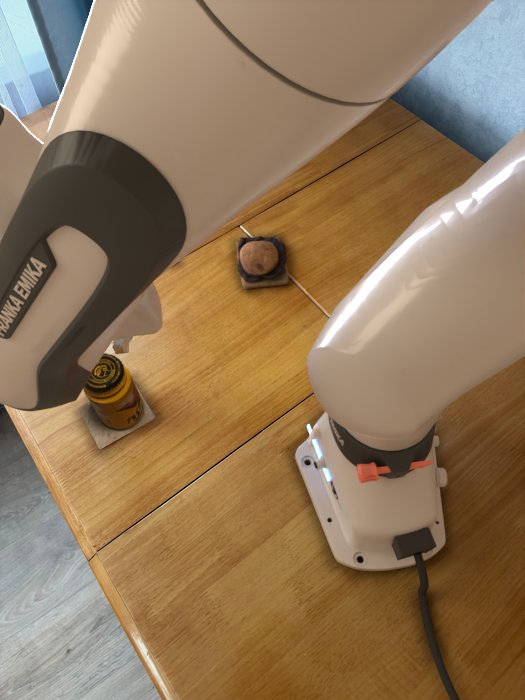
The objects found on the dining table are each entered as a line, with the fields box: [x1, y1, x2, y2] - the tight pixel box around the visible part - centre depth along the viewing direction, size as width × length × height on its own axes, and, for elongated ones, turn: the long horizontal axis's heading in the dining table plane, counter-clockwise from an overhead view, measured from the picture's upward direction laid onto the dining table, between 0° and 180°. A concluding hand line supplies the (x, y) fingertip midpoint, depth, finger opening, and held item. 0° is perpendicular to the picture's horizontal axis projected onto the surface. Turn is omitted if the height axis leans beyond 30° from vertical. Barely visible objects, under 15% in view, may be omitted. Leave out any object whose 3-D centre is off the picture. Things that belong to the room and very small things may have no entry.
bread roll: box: [235, 234, 290, 290], centre depth 86 cm, size 11×8×4 cm
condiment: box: [77, 352, 156, 450], centre depth 69 cm, size 7×8×12 cm
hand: (80, 353), depth 60 cm, fingers open, 8 cm apart
